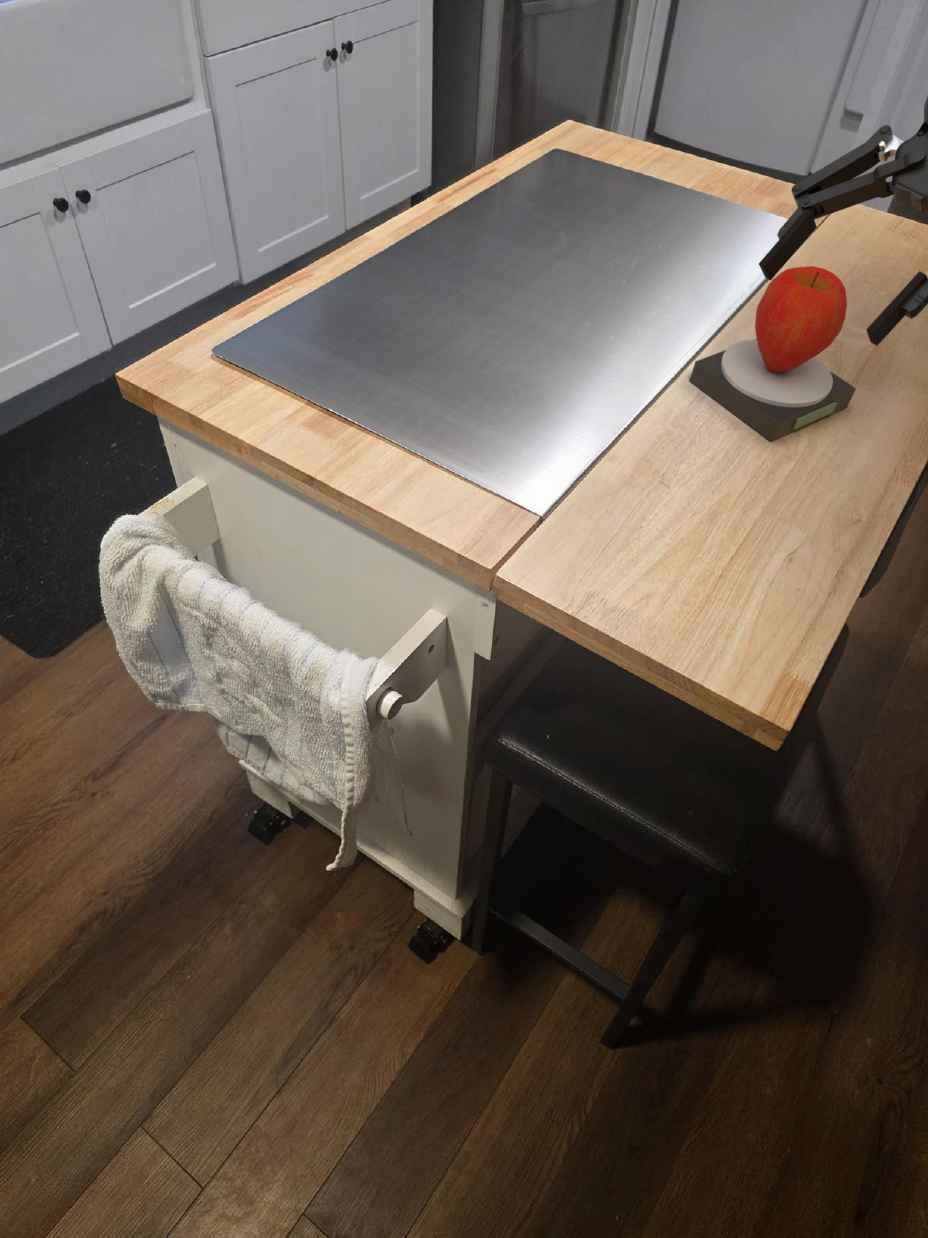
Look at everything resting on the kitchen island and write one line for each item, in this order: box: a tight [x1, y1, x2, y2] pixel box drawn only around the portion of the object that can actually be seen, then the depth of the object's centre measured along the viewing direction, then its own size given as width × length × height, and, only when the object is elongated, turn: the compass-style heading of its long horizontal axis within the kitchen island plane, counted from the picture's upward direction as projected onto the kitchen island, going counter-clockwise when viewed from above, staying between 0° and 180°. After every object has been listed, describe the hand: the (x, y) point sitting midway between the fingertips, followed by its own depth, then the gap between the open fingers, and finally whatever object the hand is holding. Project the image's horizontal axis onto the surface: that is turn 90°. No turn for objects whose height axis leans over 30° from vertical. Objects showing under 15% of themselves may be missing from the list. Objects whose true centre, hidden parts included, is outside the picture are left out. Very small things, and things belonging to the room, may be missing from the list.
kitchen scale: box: [689, 338, 857, 443], centre depth 93 cm, size 12×12×3 cm
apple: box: [754, 265, 848, 373], centre depth 88 cm, size 9×8×11 cm
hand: (815, 304), depth 85 cm, fingers open, 13 cm apart
